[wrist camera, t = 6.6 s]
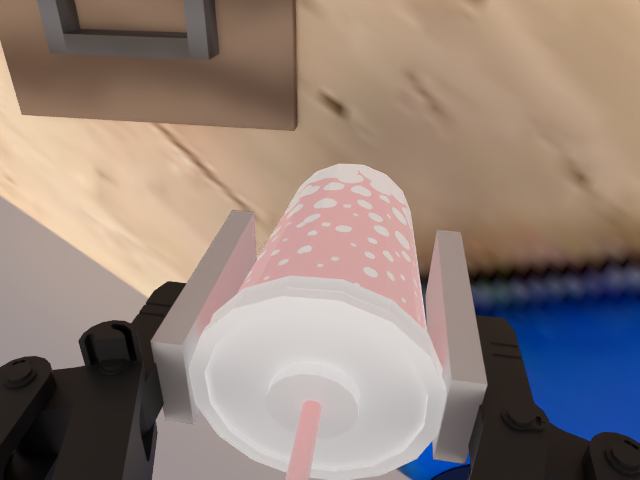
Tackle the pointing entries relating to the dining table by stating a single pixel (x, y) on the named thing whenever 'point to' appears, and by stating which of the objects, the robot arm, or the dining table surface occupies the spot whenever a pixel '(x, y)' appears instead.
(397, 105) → the dining table surface
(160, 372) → the robot arm
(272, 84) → the cup holder
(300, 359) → the beverage cup
